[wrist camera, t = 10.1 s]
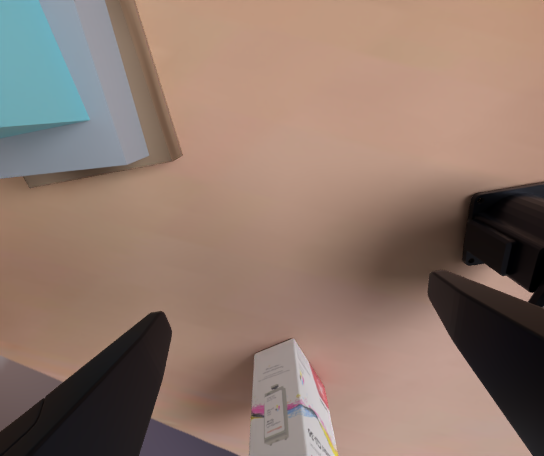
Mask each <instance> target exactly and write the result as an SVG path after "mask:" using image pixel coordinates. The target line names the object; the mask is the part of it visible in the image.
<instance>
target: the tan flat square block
mask: <svg viewBox="0 0 544 456" xmlns="http://www.w3.org/2000/svg"><path fill="white" fill-rule="evenodd" d="M105 3H106V6H107V10H108V13H109V17H110V20H111V24H112V27H113V31H114V34H115V38H116V41H117V45H118V48H119V52H120V55H121V59H122V62H123V65H124V69H125V72H126V76H127V79H128V83H129V86H130V90H131V93H132V97H133V100H134V104H135V107H136V111H137V114H138V118H139V121H140V125H141V128H142V132H143V135H144V139H145V142H146V146H147V149H148V153H149V156H147V157H145V158H142V159H140V160H138V161H135V162H133V163H130V164H128V165H121V166H111V167H102V168H93V169H84V170H75V171H65V172H56V173H47V174H38V175H29V176H23V177H24V179H25V181H26V183H27V184H28V186H29V188H33V187H38V186H44V185H49V184H54V183H60V182H65V181H70V180H76V179H81V178H86V177H92V176H97V175H102V174H108V173H113V172H118V171H124V170H129V169H134V168H139V167H145V166H150V165H155V164H161V163H166V162H171V161H174V160H175V159H177V158H179V157H181V156H182V155H183V154H182V151H181V148H180V145H179V141H178V138H177V135H176V132H175V128H174V125H173V122H172V119H171V116H170V112H169V109H168V106H167V103H166V99H165V96H164V93H163V90H162V87H161V83H160V80H159V77H158V74H157V70H156V67H155V64H154V61H153V58H152V54H151V51H150V48H149V45H148V41H147V38H146V35H145V32H144V29H143V25H142V22H141V19H140V16H139V12H138V9H137V6H136V3H135V0H105Z"/></svg>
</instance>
